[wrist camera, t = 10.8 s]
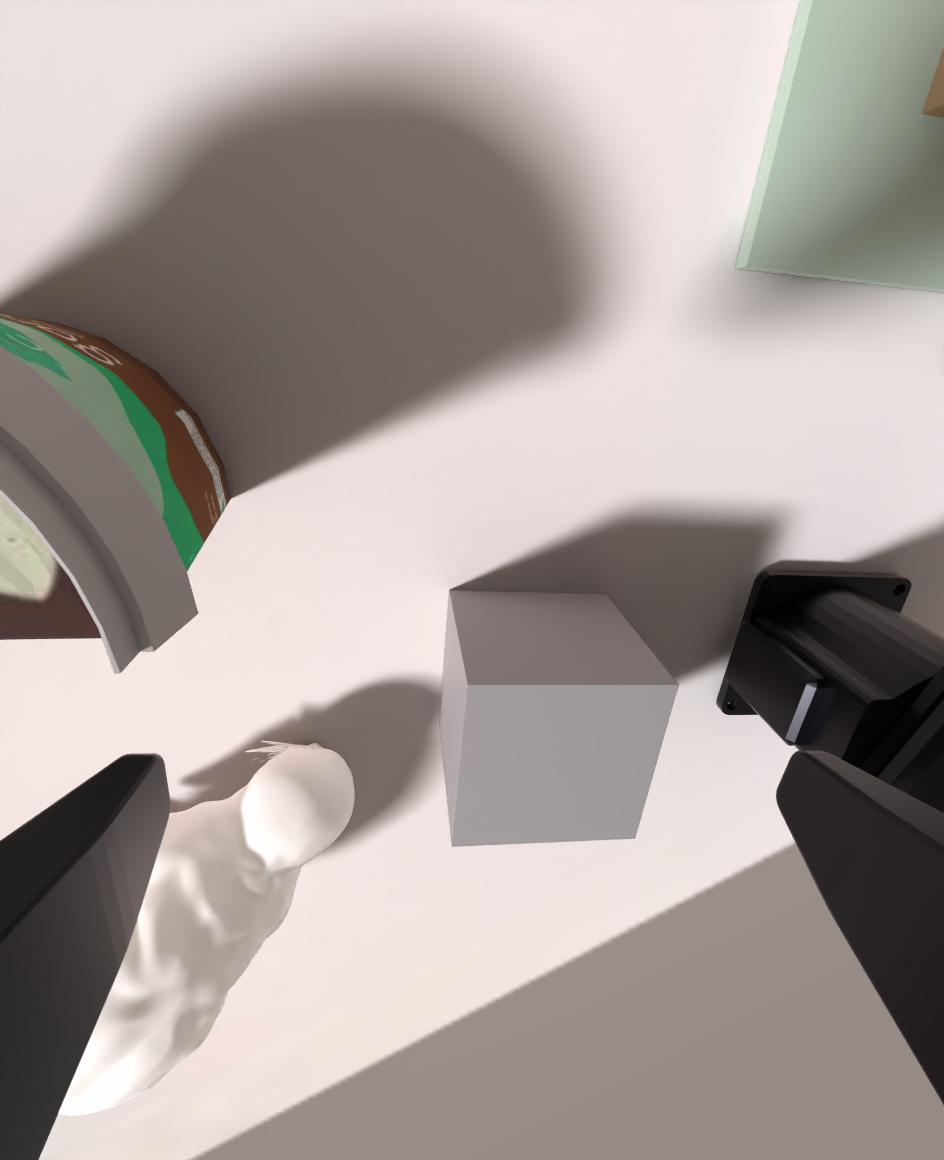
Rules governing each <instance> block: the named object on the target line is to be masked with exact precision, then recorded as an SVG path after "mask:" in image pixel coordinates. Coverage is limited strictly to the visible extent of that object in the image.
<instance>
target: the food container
mask: <svg viewBox="0 0 944 1160" xmlns="http://www.w3.org/2000/svg"><path fill="white" fill-rule="evenodd" d="M230 499H231V497H230V493H229V488H228V484H227V479H226V475H225V471H224V466H223V462H222V460H221V459H220V457H219V455H218V453H217V451H216V449H215V447H214V445H213V443H212V442H211V440H210V438H209V436H208V434H207V432H206V430H205V428H204V427H203V425H202V423H201V421H200V419H199V417H198V415H197V414H196V413H195V412H194V411H193V410H192V409H191V408H190V406H189V405H188V404H187V403H186V402H185V401H184V400H183V399H182V398H181V397H180V396H179V395H178V394H177V393H176V391H175V390H174V389H173V388H172V387H171V386H170V385H169V384H168V383H167V382H166V381H165V380H164V379H163V378H162V377H161V375H160V374H159V373H158V372H157V371H155V370H154V369H152V368H151V367H149V366H147V365H146V364H144V363H143V362H141V361H139V360H138V359H136V358H135V357H133V356H131V355H130V354H128V353H127V352H125V351H124V350H122V349H120V348H119V347H117V346H116V345H114V344H112V343H111V342H109V341H108V340H106V339H105V338H102V337H99V336H96V335H92V334H89V333H86V332H83V331H80V330H77V329H74V328H71V327H68V326H65V325H62V324H59V323H53V322H47V321H40V320H34V319H28V318H21V317H15V316H9V315H2V314H0V640H6V639H70V638H102V640H103V643H104V646H105V648H106V651H107V654H108V657H109V659H110V662H111V665H112V668H113V670H114V673H121V672H122V671H123V670H124V669H125V668H126V666H127V665H128V664H129V663H130V662H131V661H132V660H133V659H134V658H135V656H136V655H137V654H138V653H139V652H140V651H142V652H154V651H155V650H156V649H157V648H159V647H160V646H161V645H162V644H163V643H164V642H166V641H167V640H168V639H169V638H170V637H171V636H173V635H174V634H175V633H176V632H177V631H178V630H180V629H181V628H182V627H183V626H184V625H185V624H187V623H188V622H189V621H190V620H191V619H192V618H194V617H195V616H196V615H197V614H198V611H197V607H196V604H195V600H194V597H193V593H192V589H191V586H190V582H189V578H188V575H187V571H188V569H189V567H190V566H191V564H192V562H193V561H194V559H195V557H196V556H197V554H198V552H199V551H200V549H201V547H202V546H203V544H204V542H205V541H206V539H207V538H208V536H209V534H210V533H211V531H212V529H213V528H214V526H215V524H216V523H217V521H218V519H219V518H220V516H221V514H222V513H223V511H224V509H225V508H226V506H227V504H228V503H229V501H230Z"/></svg>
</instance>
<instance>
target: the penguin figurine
mask: <svg viewBox="0 0 944 1160" xmlns="http://www.w3.org/2000/svg"><path fill="white" fill-rule="evenodd" d="M261 742H265V743H268V744H272V745H277V746H270V747H263V748H257V749H252V750H247V751H246V752H259V751H261V752H276V753H277V754H276V753H271V754H274V756H271V757H269V758H271V759H270V760H269V761H268V762H267V763H266V764H265V765H264V766H262V767H261V768H260V769H259V771H257V773H255V774H254V775H253V778H252V779H251V781H250V782H249V783H248V784H247V785H246V786H245V787H243V788H242V789H240V790H239V791H237V792H236V793H235V794H234V795H233V796H231V797H229V798H227V799H224V800H219V801H207V802H202V803H200V804H198V805H196V806H194V807H192V808H190V809H188V810H185V811H181V812H175V813H170V814H169V819H168V823H167V826H166V829H165V832H164V836H163V839H162V842H161V845H160V849H159V852H158V855H157V858H156V861H155V865H154V868H153V871H152V874H151V877H150V881H149V884H148V887H147V890H146V894H145V897H144V900H143V903H142V906H141V910H140V913H139V916H138V919H137V923H136V926H135V929H134V932H133V935H132V938H131V941H130V944H129V947H128V949H127V952H126V954H125V957H124V959H123V962H122V964H121V967H120V969H119V972H118V974H117V976H116V979H115V981H114V984H113V986H112V988H111V991H110V993H109V995H108V998H107V1000H106V1002H105V1005H104V1007H103V1009H102V1012H101V1014H100V1016H99V1019H98V1021H97V1023H96V1026H95V1028H94V1031H93V1033H92V1035H91V1038H90V1040H89V1042H88V1045H87V1047H86V1049H85V1052H84V1054H83V1056H82V1059H81V1061H80V1063H79V1066H78V1068H77V1070H76V1073H75V1075H74V1078H73V1080H72V1082H71V1085H70V1087H69V1089H68V1092H67V1094H66V1096H65V1099H64V1101H63V1103H62V1106H61V1108H60V1110H59V1113H58V1114H62V1115H83V1114H89V1113H93V1112H97V1111H101V1110H104V1109H107V1108H112V1107H115V1106H118V1105H120V1104H121V1103H123V1102H125V1101H126V1100H128V1099H130V1098H132V1097H135V1096H137V1095H139V1094H141V1093H143V1092H145V1091H147V1090H149V1089H150V1088H152V1087H153V1086H154V1085H155V1084H156V1083H157V1082H158V1081H160V1080H161V1079H162V1078H163V1077H164V1076H165V1075H166V1074H167V1073H168V1072H169V1071H170V1070H171V1069H172V1068H173V1067H174V1066H175V1065H177V1064H178V1063H179V1062H181V1061H182V1060H183V1059H185V1058H186V1057H188V1056H189V1055H190V1054H192V1053H193V1052H194V1051H195V1050H196V1049H197V1048H198V1047H199V1046H200V1045H201V1044H202V1042H203V1041H204V1040H205V1038H206V1037H207V1035H208V1033H209V1032H210V1030H211V1028H212V1026H213V1024H214V1022H215V1020H216V1018H217V1016H218V1014H219V1013H220V1011H221V1009H222V1007H223V1005H224V1001H225V998H226V995H227V992H228V990H229V989H230V988H231V987H232V986H233V985H234V984H235V983H236V981H237V980H238V979H239V978H240V976H241V975H242V974H243V972H244V971H245V970H246V968H247V967H248V965H249V963H250V962H251V960H252V959H253V957H254V956H255V954H256V953H257V951H258V950H259V948H260V947H261V945H262V944H263V942H264V940H265V939H266V938H267V937H269V936H270V935H271V934H272V933H274V932H275V931H276V930H277V929H278V928H279V926H280V925H281V924H282V922H283V920H284V919H285V917H286V915H287V913H288V910H289V908H290V905H291V902H292V898H293V894H294V889H295V885H296V881H297V878H298V875H299V873H300V870H301V867H302V866H303V865H304V864H306V863H307V862H309V861H310V860H312V859H313V858H314V857H316V856H317V855H318V854H320V853H321V852H322V851H324V850H325V849H326V848H327V847H329V846H330V845H331V844H332V843H333V842H334V841H335V840H336V839H337V838H338V836H339V835H340V834H341V833H342V832H343V830H344V829H345V827H346V826H347V824H348V822H349V820H350V818H351V815H352V812H353V807H354V800H355V791H354V784H353V776H352V773H351V771H350V769H349V768H348V766H347V764H346V762H345V761H344V759H343V758H342V757H341V756H340V755H339V754H338V753H336V752H334V751H332V750H329V749H323V748H322V747H321V746H320V745H319V744H317V743H312V744H310V745H294V744H289V743H282V742H272V741H264V740H261ZM241 752H242V751H241ZM271 754H270V755H271ZM275 754H276V755H275ZM265 755H266V754H265ZM268 755H269V754H268ZM268 755H267V756H268ZM264 757H265V756H264ZM261 758H262V757H261ZM269 758H267V759H269ZM256 759H257V758H256ZM256 759H255V760H256ZM258 759H259V758H258ZM253 760H254V759H253ZM250 761H252V760H250ZM264 761H265V760H264ZM261 762H262V761H261ZM258 763H259V762H258Z"/></svg>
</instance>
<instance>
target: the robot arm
mask: <svg viewBox="0 0 944 1160" xmlns="http://www.w3.org/2000/svg"><path fill="white" fill-rule="evenodd" d="M771 581H772V583H771V585H770V586H769V587H768V588H766V586H767V584H768V583H769V582H771ZM894 588H895V589H894ZM910 589H911V582H910V581H909V580H908V579H906V578H904V577H902V576H900V575H897V574H871V573H838V572H805V571H771V570H770V571H764V572H763V573H761V574H760V575H759V576H758V577H757V578H756V579H755V581H754V584H753V587H752V590H751V593H750V597H749V600H748V603H747V606H746V609H745V612H744V615H743V619H742V622H741V625H740V628H739V631H738V634H737V637H736V640H735V644H734V647H733V650H732V653H731V656H730V659H729V662H728V666H727V669H726V672H725V675H724V678H723V681H722V685H721V688H720V691H719V694H718V697H717V702H716V704H717V706H718V707H719V708H720V710H721V711H722V712H723V713H724V714H727V715H759V716H760V717H761V718H762V719H763V720H764V721H765V722H766V723H767V724H768V725H769V726H770V727H771V728H772V729H773V730H774V731H775V733H776V734H777V735H778V736H779V737H780V738H781V739H782V740H783V741H784V742H785V743H786V744H787V745H789V746H795V747H796V748H797V749H798V750H799V751H797V752H795V753H794V754H793V755H792V756H791V758H790V760H789V763H788V765H787V767H786V769H785V772H784V774H783V776H782V779H781V781H780V783H779V786H778V788H777V792H776V800H777V804H778V807H779V810H780V812H781V814H782V816H783V818H784V820H785V822H786V824H787V826H788V828H789V830H790V832H791V834H792V836H793V838H794V840H795V842H796V844H797V846H798V849H799V851H800V853H801V855H802V857H803V859H804V861H805V863H806V865H807V867H808V869H809V871H810V873H811V875H812V877H813V879H814V881H815V884H816V886H817V888H818V890H819V892H820V894H821V896H822V898H823V899H824V901H825V903H826V905H827V907H828V909H829V911H830V913H831V914H832V916H833V918H834V920H835V922H836V923H837V925H838V927H839V928H840V930H841V932H842V934H843V935H844V937H845V939H846V940H847V942H848V944H849V945H850V947H851V949H852V950H853V952H854V954H855V955H856V957H857V959H858V961H859V962H860V964H861V966H862V967H863V969H864V971H865V972H866V974H867V976H868V978H869V979H870V981H871V983H872V984H873V986H874V988H875V989H876V991H877V993H878V995H879V996H880V998H881V1000H882V1001H883V1003H884V1005H885V1006H886V1008H887V1009H888V1011H889V1013H890V1015H891V1016H892V1018H893V1020H894V1021H895V1023H896V1025H897V1027H898V1028H899V1030H900V1031H901V1033H902V1035H903V1037H904V1039H905V1040H906V1042H907V1044H908V1045H909V1047H910V1049H911V1050H912V1052H913V1054H914V1055H915V1057H916V1059H917V1061H918V1062H919V1064H920V1065H921V1067H922V1069H923V1071H924V1072H925V1074H926V1076H927V1077H928V1079H929V1081H930V1082H931V1084H932V1086H933V1088H934V1089H935V1091H936V1093H937V1094H938V1096H939V1098H940V1099H941V1101H942V1103H943V1105H944V638H942V637H941V636H939V635H937V634H935V633H933V632H932V631H930V630H928V629H926V628H925V627H923V626H921V625H919V624H917V623H916V622H914V621H912V620H910V619H908V618H907V617H905V616H903V615H901V614H900V612H901V610H902V607H903V605H904V603H905V601H906V598H907V596H908V594H909V592H910ZM731 701H732V702H731ZM729 702H731V703H729ZM728 703H729V704H728ZM169 814H170V796H169V790H168V783H167V777H166V770H165V764H164V760H163V758H162V757H161V756H160V755H158V754H155V753H150V754H126V755H123V756H121V757H120V758H118V759H117V760H115V761H114V762H112V763H111V764H109V765H108V766H107V767H105V768H104V769H102V770H101V771H99V772H98V773H97V774H95V775H94V776H92V777H91V778H89V779H88V780H87V781H85V782H84V783H82V784H81V785H79V786H78V787H77V788H75V789H74V790H72V791H71V792H69V793H68V794H66V795H65V796H64V797H62V798H61V799H59V800H58V801H56V802H55V803H54V804H52V805H51V806H49V807H48V808H46V809H45V810H44V811H42V812H41V813H39V814H38V815H36V816H35V817H33V818H32V819H31V820H29V821H28V822H26V823H25V824H23V825H22V826H21V827H19V828H18V829H16V830H15V831H13V832H12V833H11V834H9V835H8V836H6V837H5V838H3V839H2V840H1V841H0V1160H39V1157H40V1155H41V1153H42V1150H43V1148H44V1146H45V1143H46V1141H47V1139H48V1136H49V1134H50V1132H51V1129H52V1127H53V1125H54V1122H55V1120H56V1117H57V1115H58V1113H59V1110H60V1108H61V1106H62V1103H63V1101H64V1099H65V1096H66V1094H67V1092H68V1089H69V1087H70V1085H71V1082H72V1080H73V1078H74V1075H75V1073H76V1070H77V1068H78V1066H79V1063H80V1061H81V1059H82V1056H83V1054H84V1052H85V1049H86V1047H87V1045H88V1042H89V1040H90V1038H91V1035H92V1033H93V1031H94V1028H95V1026H96V1023H97V1021H98V1019H99V1016H100V1014H101V1012H102V1009H103V1007H104V1005H105V1002H106V1000H107V998H108V995H109V993H110V991H111V988H112V986H113V984H114V981H115V979H116V976H117V974H118V972H119V969H120V967H121V964H122V962H123V959H124V957H125V954H126V952H127V949H128V947H129V944H130V941H131V938H132V935H133V932H134V929H135V926H136V923H137V919H138V916H139V913H140V910H141V906H142V903H143V900H144V897H145V894H146V890H147V887H148V884H149V881H150V877H151V874H152V871H153V868H154V865H155V861H156V858H157V855H158V852H159V849H160V845H161V842H162V839H163V836H164V832H165V829H166V826H167V823H168V819H169Z"/></svg>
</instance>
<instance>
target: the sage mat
mask: <svg viewBox="0 0 944 1160" xmlns="http://www.w3.org/2000/svg"><path fill="white" fill-rule="evenodd" d="M943 47H944V0H800V2H799V6H798V10H797V14H796V19H795V23H794V27H793V31H792V35H791V39H790V43H789V48H788V52H787V56H786V60H785V64H784V68H783V72H782V77H781V81H780V85H779V89H778V93H777V97H776V101H775V106H774V110H773V114H772V118H771V122H770V126H769V130H768V134H767V139H766V143H765V147H764V151H763V155H762V159H761V163H760V168H759V172H758V176H757V180H756V184H755V188H754V192H753V197H752V201H751V205H750V209H749V213H748V217H747V221H746V226H745V230H744V234H743V238H742V242H741V246H740V250H739V255H738V259H737V263H736V267H735V269H744V270H752V271H761V272H770V273H778V274H787V275H795V276H804V277H812V278H821V279H829V280H838V281H846V282H855V283H863V284H872V285H880V286H889V287H897V288H906V289H915V290H923V291H932V292H940V293H944V118H941V117H936V116H930V115H924V114H922V111H923V108H924V105H925V102H926V99H927V95H928V92H929V89H930V86H931V83H932V80H933V77H934V74H935V71H936V68H937V65H938V62H939V59H940V56H941V53H942V50H943Z"/></svg>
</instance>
